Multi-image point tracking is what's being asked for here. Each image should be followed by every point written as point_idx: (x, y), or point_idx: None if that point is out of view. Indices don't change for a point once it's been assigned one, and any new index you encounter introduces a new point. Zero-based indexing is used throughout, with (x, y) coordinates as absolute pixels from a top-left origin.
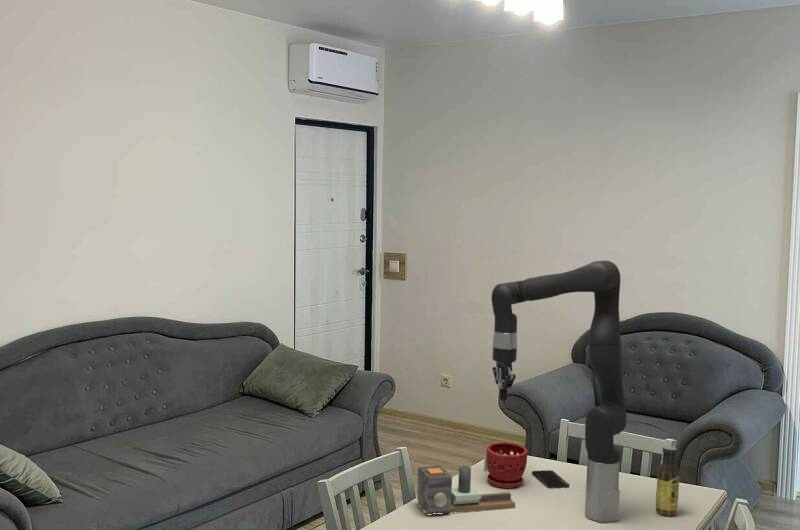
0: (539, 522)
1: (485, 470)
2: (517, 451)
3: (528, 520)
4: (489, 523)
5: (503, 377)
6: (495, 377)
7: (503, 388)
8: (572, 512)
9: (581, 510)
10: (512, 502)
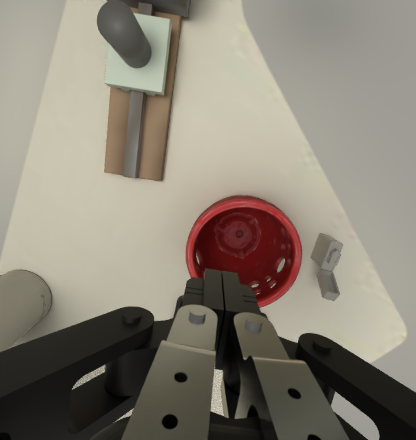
0: (27, 173)
1: (321, 234)
2: (258, 295)
3: (41, 159)
4: (48, 71)
5: (128, 417)
6: (390, 394)
7: (170, 320)
8: (55, 262)
9: (59, 283)
10: (108, 168)
